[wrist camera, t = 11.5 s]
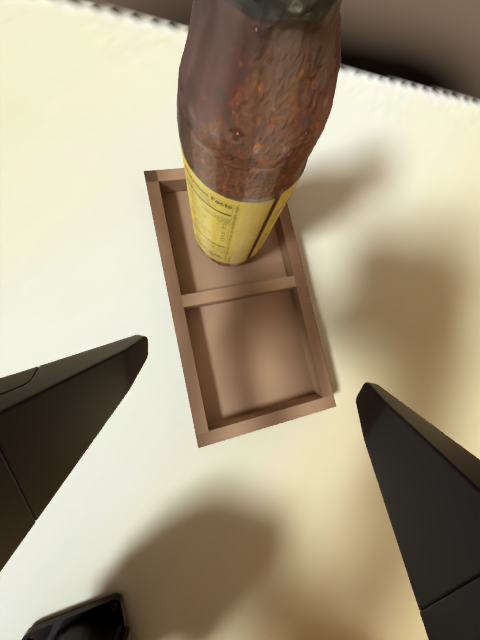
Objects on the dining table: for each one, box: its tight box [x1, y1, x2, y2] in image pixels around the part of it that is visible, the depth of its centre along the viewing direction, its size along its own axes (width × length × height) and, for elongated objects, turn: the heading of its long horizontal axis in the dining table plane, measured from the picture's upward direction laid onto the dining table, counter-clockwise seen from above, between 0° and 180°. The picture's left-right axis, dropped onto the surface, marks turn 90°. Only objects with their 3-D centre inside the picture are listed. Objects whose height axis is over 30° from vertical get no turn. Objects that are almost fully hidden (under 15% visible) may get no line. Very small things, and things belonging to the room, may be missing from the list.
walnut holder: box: [144, 168, 336, 448], centre depth 20 cm, size 12×23×2 cm, turn 12°
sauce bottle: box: [177, 0, 342, 267], centre depth 11 cm, size 7×6×20 cm
